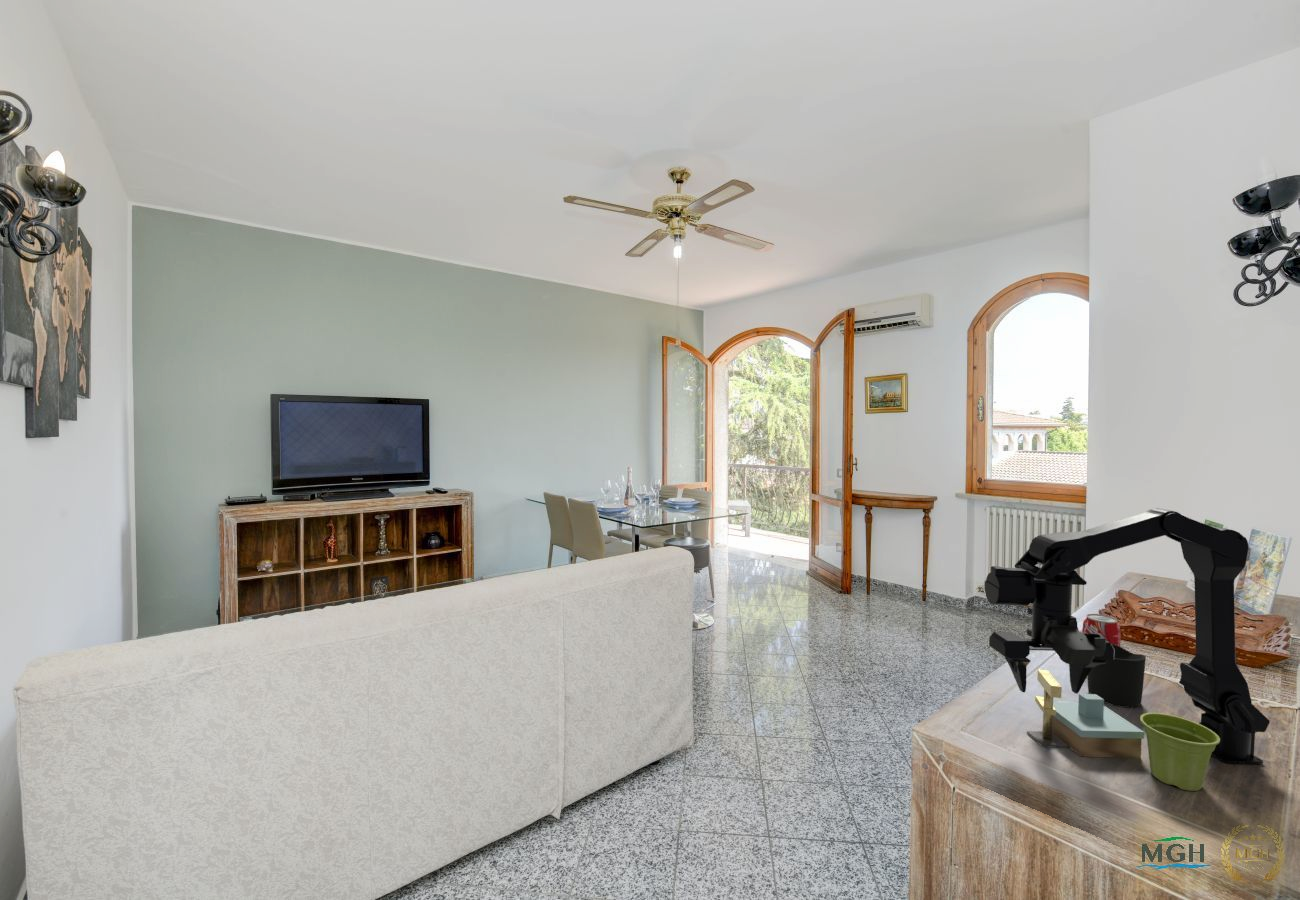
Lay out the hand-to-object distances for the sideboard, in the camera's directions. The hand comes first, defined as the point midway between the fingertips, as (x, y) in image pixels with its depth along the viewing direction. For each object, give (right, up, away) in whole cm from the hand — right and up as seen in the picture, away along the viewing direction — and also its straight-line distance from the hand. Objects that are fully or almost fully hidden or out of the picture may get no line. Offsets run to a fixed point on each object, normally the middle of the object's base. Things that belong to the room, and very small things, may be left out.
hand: (1048, 692), depth 103 cm
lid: (+8, -5, 0) cm, 9 cm away
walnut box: (+5, -9, 0) cm, 10 cm away
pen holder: (+25, -9, +16) cm, 31 cm away
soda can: (+34, -8, +31) cm, 47 cm away
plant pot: (+13, -10, -11) cm, 20 cm away
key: (0, -9, 0) cm, 9 cm away
